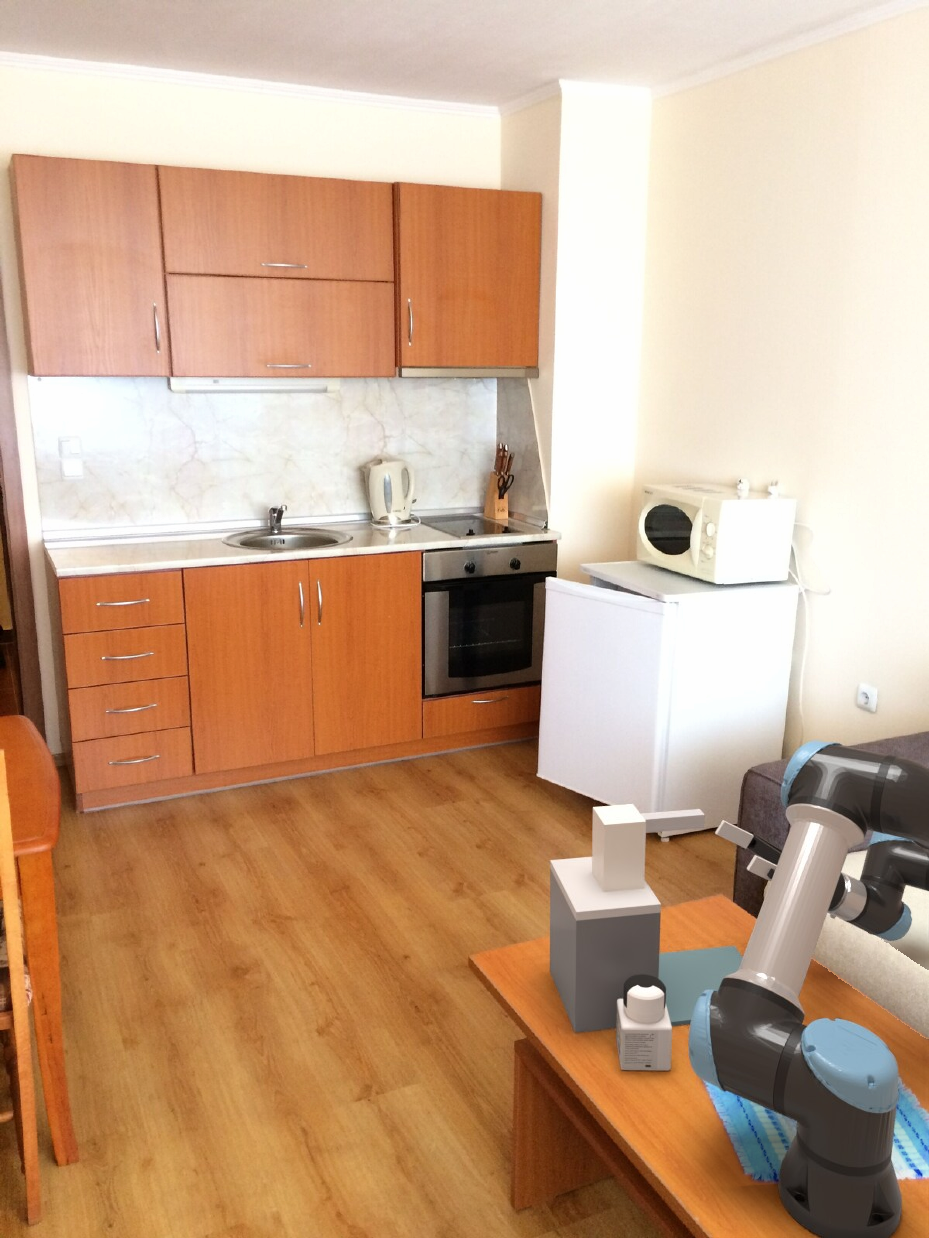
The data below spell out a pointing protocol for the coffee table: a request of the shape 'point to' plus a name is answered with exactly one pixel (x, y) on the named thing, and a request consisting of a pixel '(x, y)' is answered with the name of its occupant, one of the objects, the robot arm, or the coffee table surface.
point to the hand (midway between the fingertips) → (734, 844)
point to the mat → (694, 977)
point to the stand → (598, 942)
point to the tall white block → (630, 841)
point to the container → (643, 1025)
